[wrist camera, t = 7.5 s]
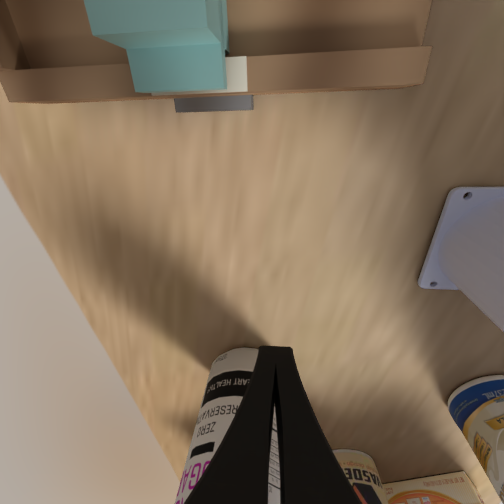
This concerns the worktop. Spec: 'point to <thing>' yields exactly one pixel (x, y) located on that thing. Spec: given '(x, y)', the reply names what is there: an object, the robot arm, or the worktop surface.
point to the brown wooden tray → (237, 62)
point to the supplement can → (224, 420)
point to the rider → (167, 41)
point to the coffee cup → (362, 475)
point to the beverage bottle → (483, 423)
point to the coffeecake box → (434, 490)
